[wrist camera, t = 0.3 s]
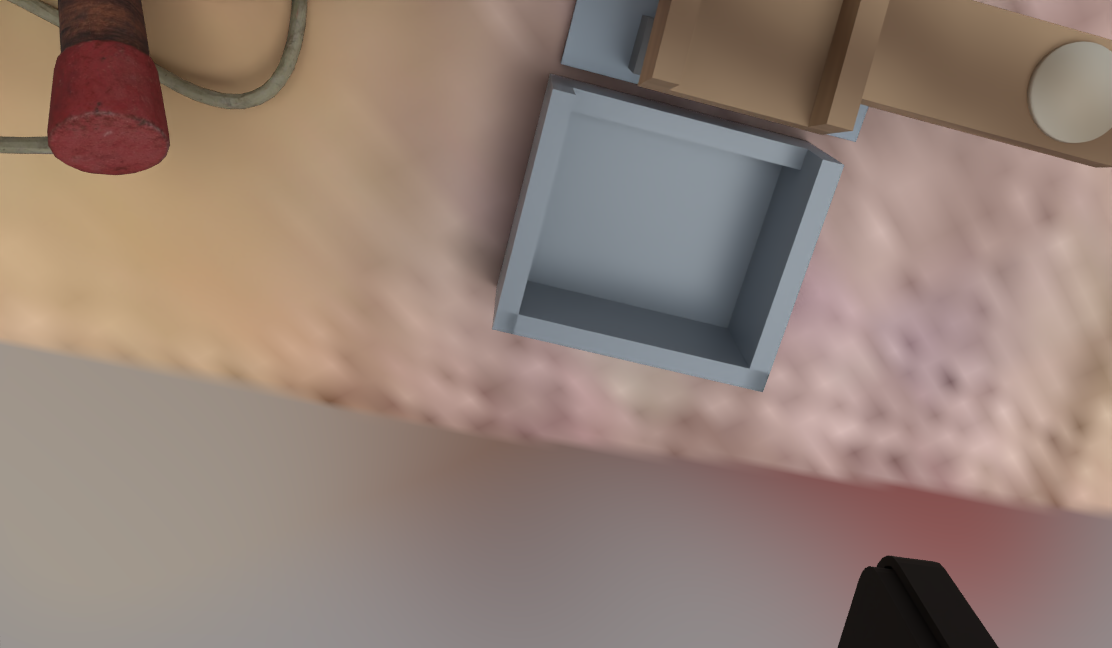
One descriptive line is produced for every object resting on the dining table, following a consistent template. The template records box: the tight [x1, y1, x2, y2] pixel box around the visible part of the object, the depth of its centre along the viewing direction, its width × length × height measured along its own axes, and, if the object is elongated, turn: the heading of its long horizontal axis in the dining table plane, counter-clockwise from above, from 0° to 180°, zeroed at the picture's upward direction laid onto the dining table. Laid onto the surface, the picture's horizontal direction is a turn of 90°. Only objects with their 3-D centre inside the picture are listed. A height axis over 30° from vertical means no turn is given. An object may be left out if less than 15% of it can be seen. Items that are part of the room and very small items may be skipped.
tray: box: [492, 74, 844, 392], centre depth 38 cm, size 9×11×5 cm
